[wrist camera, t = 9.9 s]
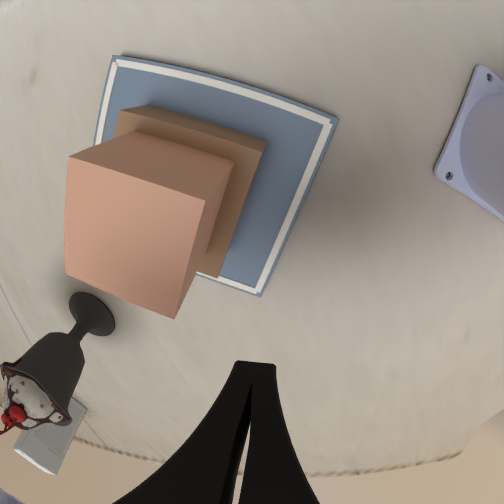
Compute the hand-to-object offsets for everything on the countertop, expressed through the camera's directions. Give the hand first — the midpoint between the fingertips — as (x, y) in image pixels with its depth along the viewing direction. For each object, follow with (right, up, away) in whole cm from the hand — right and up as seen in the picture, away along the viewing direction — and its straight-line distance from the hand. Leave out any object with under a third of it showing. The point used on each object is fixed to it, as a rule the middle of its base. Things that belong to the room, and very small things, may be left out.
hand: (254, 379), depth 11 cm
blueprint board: (-4, +9, +7) cm, 12 cm away
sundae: (-14, -1, +15) cm, 21 cm away
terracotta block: (-4, +7, +4) cm, 9 cm away
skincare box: (-26, -16, +25) cm, 40 cm away
